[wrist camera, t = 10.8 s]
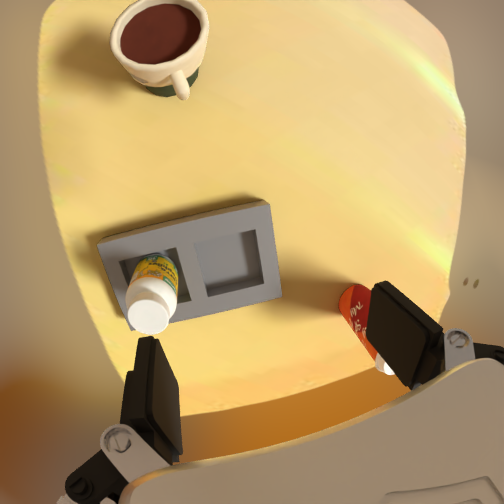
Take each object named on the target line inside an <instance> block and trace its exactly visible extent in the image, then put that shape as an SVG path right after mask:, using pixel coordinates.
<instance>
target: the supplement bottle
mask: <svg viewBox="0 0 504 504" xmlns="http://www.w3.org/2000/svg"><path fill="white" fill-rule="evenodd" d="M177 290H178V271H177V267H176V265H175V264H174V262H173V261H172V260H171V259H169V258H168V257H166V256H164V255H161V254H152V255H147V256H145V257H143V258H142V259H141V260H140V261H139V262H138V264H137V266H136V268H135V271H134V273H133V276H132V279H131V281H130V284H129V287H128V289H127V292H126V306H127V308H128V314H127V315H128V320H129V322H130V324H131V325H132V327H133V328H134V329H136V330H137V331H139V332H141V333H144V334H157V333H160V332H162V331H163V330H164V329H165V328H166V327H167V325H168V323H169V319H170V318H171V317H172V315H173V314H174V312H175V310H176V306H177Z"/></svg>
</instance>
